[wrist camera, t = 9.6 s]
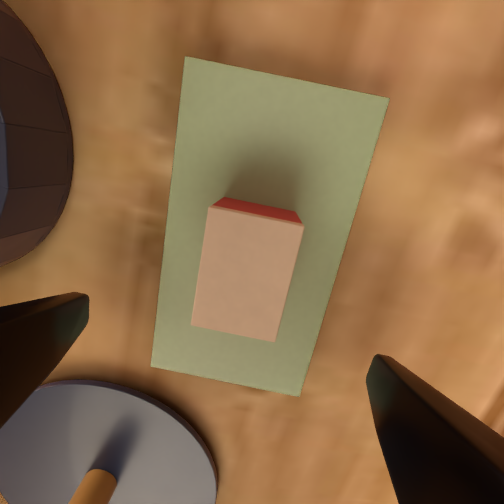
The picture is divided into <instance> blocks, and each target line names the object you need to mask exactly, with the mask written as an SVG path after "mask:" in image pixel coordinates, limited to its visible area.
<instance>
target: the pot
mask: <svg viewBox="0 0 504 504" xmlns="http://www.w3.org/2000/svg"><path fill="white" fill-rule="evenodd" d="M72 166H73V149H72V136H71V130H70V124H69V118H68V114H67V111H66V107H65V103H64V100H63V96H62V93H61V91H60V88H59V86H58V84H57V81H56V79H55V76H54V74H53V71H52V69H51V68H50V66H49V64H48V62H47V60H46V58H45V56H44V54H43V52H42V51H41V49H40V47H39V46H38V44H37V43H36V41H35V40H34V38H33V37H32V35H31V34H30V32H29V31H28V29H27V28H26V27H25V26H24V24H23V23H22V22H21V21H20V20H19V18H18V17H17V16H16V15H15V13H14V12H13V11H12V10H11V9H10V7H9V6H8V5H6V4H5V3H4V2H3V1H2V0H0V267H1V266H3V265H5V264H8V263H10V262H12V261H14V260H17V259H19V258H21V257H22V256H24V255H26V254H27V253H29V252H30V251H32V250H33V249H34V248H35V247H36V246H37V245H39V244H40V243H41V242H42V241H43V240H44V239H45V238H46V236H47V235H48V234H49V232H50V231H51V230H52V229H53V227H54V226H55V224H56V222H57V220H58V219H59V217H60V215H61V213H62V211H63V208H64V205H65V203H66V200H67V197H68V193H69V188H70V183H71V179H72Z"/></svg>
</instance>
